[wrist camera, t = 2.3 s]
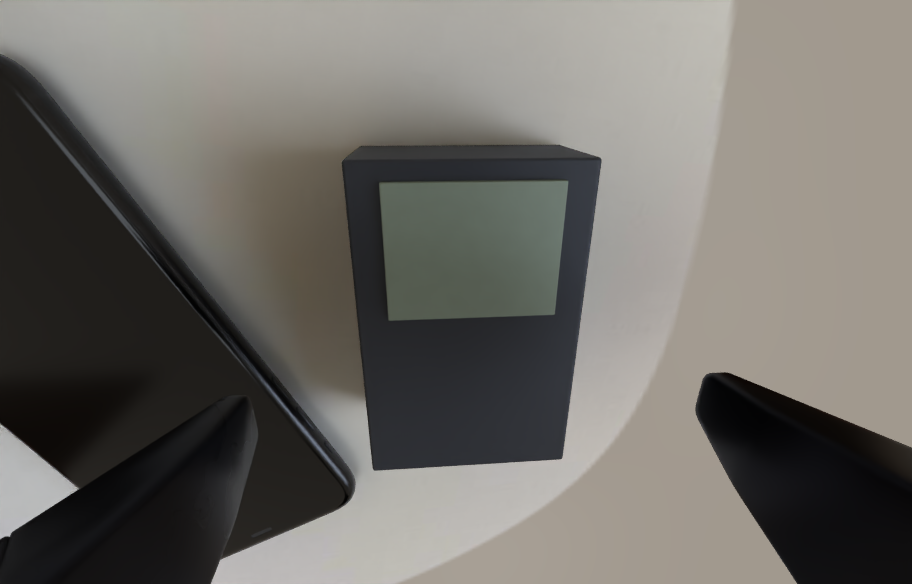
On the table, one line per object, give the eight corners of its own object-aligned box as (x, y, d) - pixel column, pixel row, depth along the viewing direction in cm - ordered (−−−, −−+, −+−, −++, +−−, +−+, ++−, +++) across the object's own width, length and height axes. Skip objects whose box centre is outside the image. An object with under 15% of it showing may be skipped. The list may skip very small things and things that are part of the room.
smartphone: (-238, 187, 11) (192, 557, 17) (-293, 194, 10) (180, 581, 16) (13, 32, 10) (369, 482, 16) (-24, 25, 9) (366, 502, 15)
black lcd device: (537, 396, 15) (564, 463, 13) (380, 404, 15) (372, 476, 12) (560, 144, 12) (606, 158, 9) (358, 146, 12) (339, 160, 9)
